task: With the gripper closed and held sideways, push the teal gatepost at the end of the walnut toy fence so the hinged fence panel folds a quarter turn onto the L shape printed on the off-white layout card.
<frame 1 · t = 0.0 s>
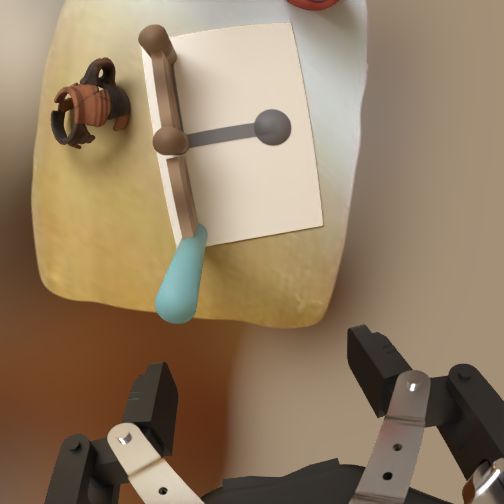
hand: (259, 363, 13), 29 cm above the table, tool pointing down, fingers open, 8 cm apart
fence gate: (178, 217, 29), point 11 cm above the table, hinge at 0.0°
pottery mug: (100, 106, 34), on the table
layout card: (232, 129, 37), on the table
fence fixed: (179, 143, 37), resting on layout card
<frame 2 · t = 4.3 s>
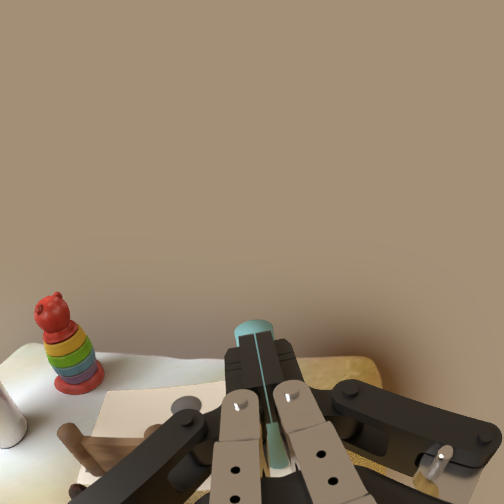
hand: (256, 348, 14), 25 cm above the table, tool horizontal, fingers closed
fence gate: (224, 417, 26), point 11 cm above the table, hinge at 0.0°
stacking bear: (84, 379, 49), on the table
layout card: (181, 433, 36), on the table
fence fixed: (181, 472, 30), resting on layout card
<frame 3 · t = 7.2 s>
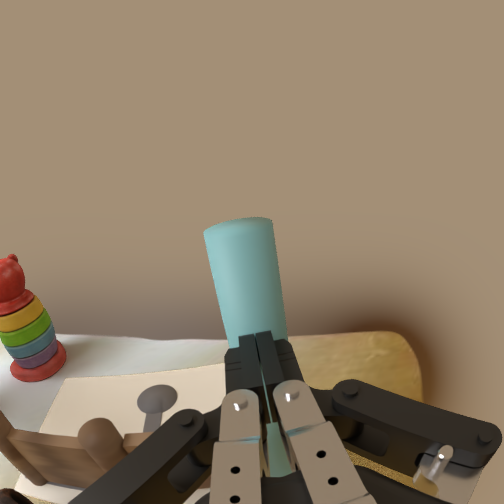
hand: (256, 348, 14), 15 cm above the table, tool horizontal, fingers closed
fence gate: (194, 405, 16), point 11 cm above the table, hinge at 3.2°, touching gripper
stacking bear: (43, 365, 37), on the table
layout card: (147, 434, 25), on the table
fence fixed: (144, 490, 19), resting on layout card
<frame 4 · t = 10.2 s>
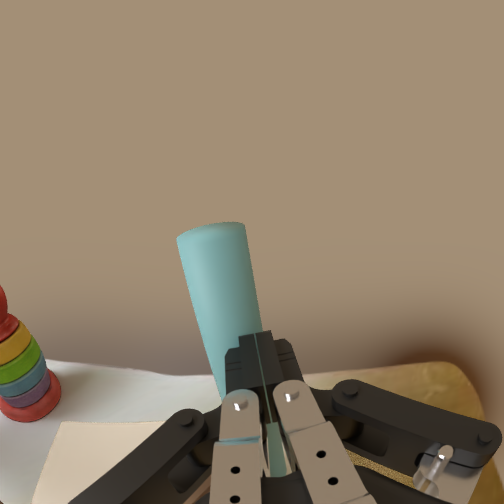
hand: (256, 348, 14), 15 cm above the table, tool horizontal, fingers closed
fence gate: (199, 445, 13), point 11 cm above the table, hinge at 49.6°, touching gripper
stacking bear: (35, 400, 30), on the table
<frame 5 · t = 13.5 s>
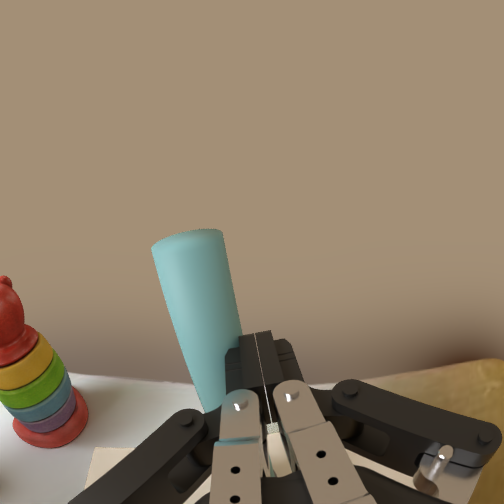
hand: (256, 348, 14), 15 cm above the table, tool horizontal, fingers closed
fence gate: (232, 468, 12), point 11 cm above the table, hinge at 86.6°, touching gripper
stacking bear: (57, 421, 26), on the table
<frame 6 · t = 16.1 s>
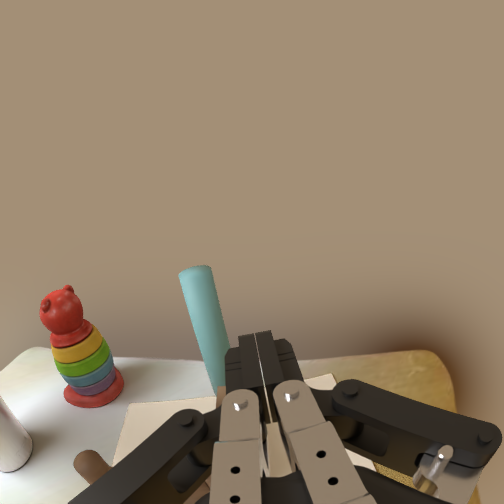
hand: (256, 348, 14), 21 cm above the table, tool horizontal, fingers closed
fence gate: (215, 385, 26), point 11 cm above the table, hinge at 86.7°
stacking bear: (99, 389, 42), on the table
layout card: (229, 452, 29), on the table
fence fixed: (237, 502, 22), resting on layout card
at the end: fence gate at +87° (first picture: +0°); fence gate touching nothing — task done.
